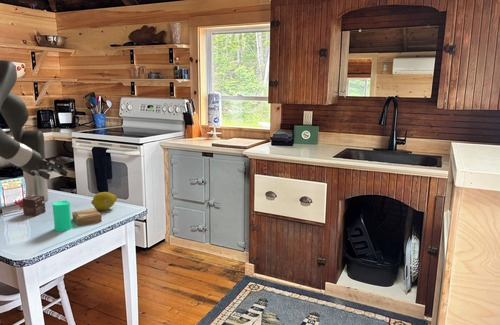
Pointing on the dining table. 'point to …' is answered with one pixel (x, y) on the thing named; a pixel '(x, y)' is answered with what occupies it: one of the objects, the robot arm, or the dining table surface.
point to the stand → (86, 216)
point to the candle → (62, 216)
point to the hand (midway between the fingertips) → (57, 175)
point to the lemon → (104, 200)
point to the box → (33, 205)
